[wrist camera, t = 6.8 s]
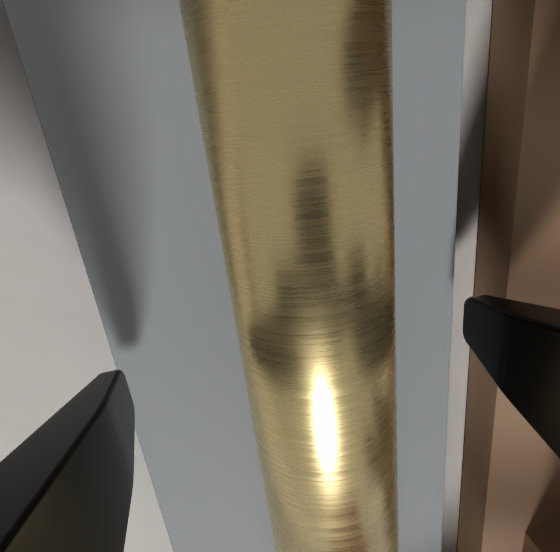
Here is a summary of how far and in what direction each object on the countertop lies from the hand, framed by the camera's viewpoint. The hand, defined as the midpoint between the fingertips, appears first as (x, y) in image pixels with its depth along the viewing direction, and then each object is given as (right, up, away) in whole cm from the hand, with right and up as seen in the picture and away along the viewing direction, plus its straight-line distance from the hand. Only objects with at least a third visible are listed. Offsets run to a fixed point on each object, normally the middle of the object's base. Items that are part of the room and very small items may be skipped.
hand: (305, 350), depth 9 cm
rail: (0, 0, +1) cm, 1 cm away
